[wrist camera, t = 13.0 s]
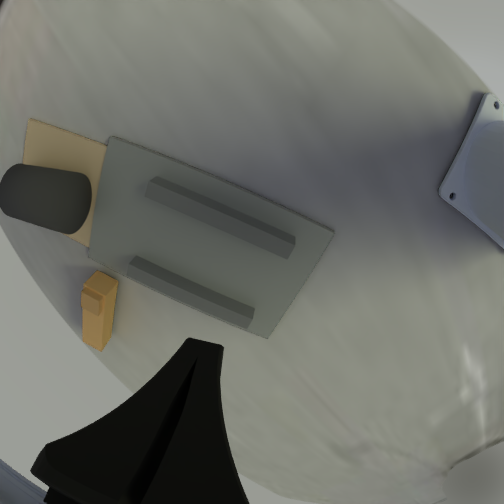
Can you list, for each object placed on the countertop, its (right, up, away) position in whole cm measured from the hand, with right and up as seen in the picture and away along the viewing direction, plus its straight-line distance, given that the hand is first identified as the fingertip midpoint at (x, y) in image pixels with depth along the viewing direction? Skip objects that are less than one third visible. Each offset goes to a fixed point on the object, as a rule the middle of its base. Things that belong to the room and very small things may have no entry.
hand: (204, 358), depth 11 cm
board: (-5, +6, +8) cm, 11 cm away
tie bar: (-11, -1, +12) cm, 16 cm away
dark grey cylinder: (-12, +8, +7) cm, 17 cm away
